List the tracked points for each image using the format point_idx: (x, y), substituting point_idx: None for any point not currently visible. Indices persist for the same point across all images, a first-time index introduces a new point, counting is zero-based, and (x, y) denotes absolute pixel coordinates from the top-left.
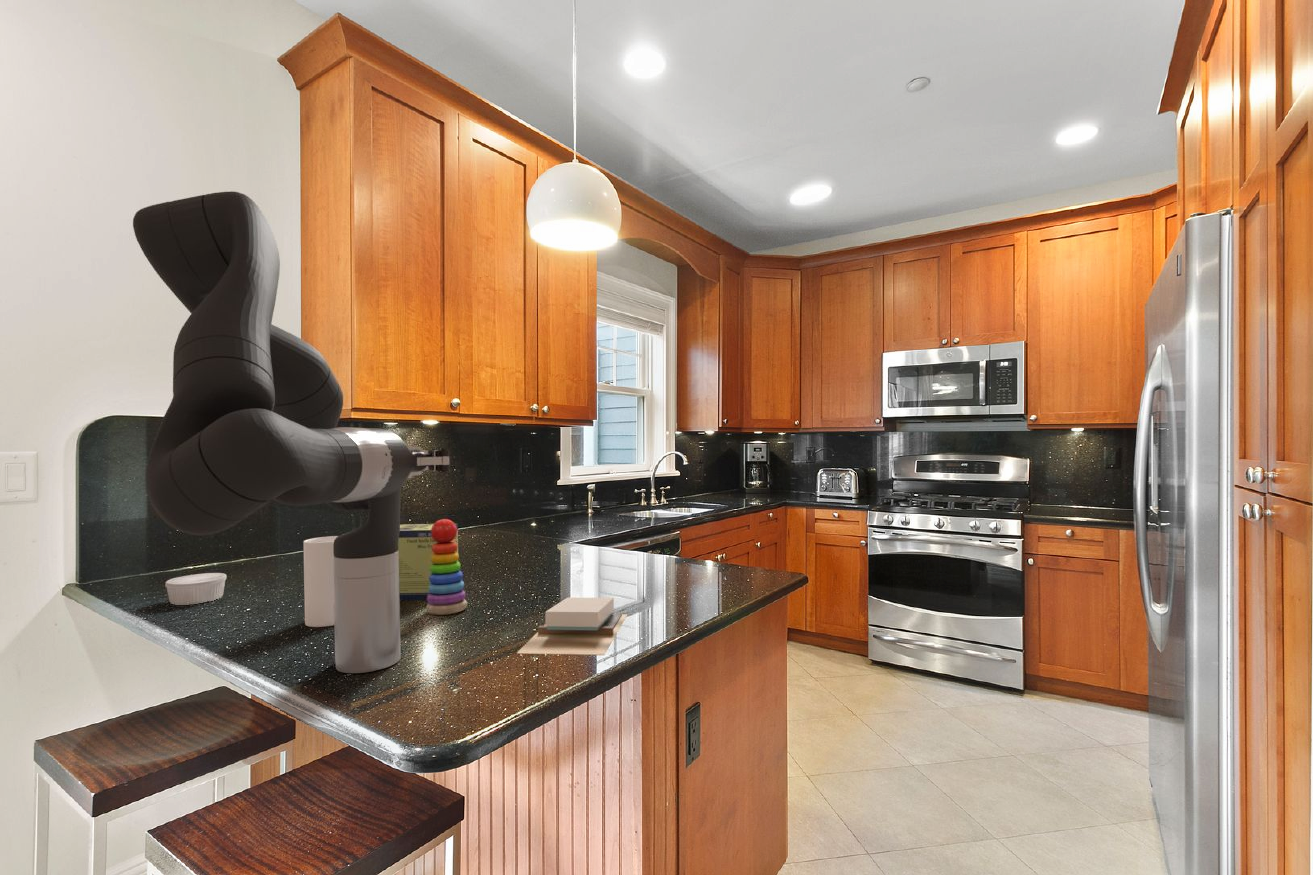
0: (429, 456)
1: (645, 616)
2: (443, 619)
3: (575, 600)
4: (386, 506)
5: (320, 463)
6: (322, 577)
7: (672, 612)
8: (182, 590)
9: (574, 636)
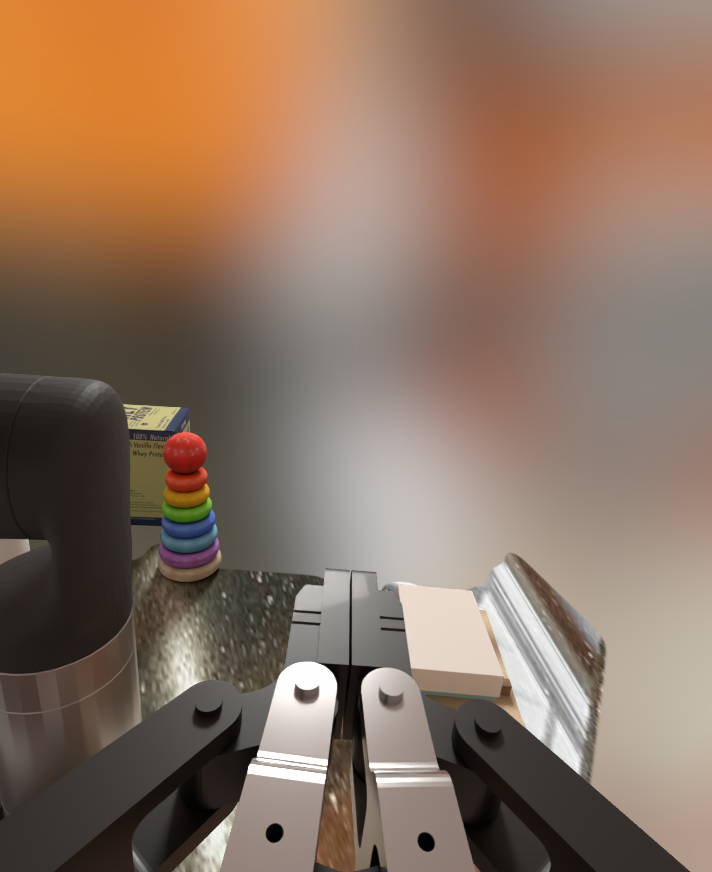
0: (468, 780)
1: (504, 607)
2: (192, 597)
3: (420, 601)
4: (102, 543)
5: None
6: None
7: (535, 596)
8: None
9: (448, 697)
